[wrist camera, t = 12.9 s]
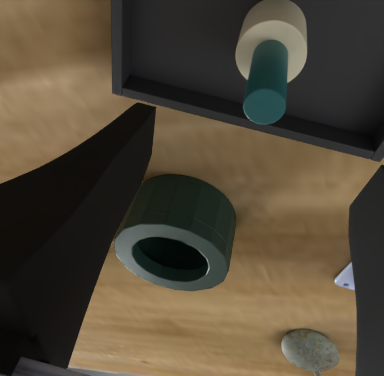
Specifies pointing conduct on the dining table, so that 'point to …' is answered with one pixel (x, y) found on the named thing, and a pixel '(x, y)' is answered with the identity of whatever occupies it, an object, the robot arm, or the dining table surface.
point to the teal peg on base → (270, 56)
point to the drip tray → (236, 83)
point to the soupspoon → (310, 351)
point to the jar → (177, 233)
